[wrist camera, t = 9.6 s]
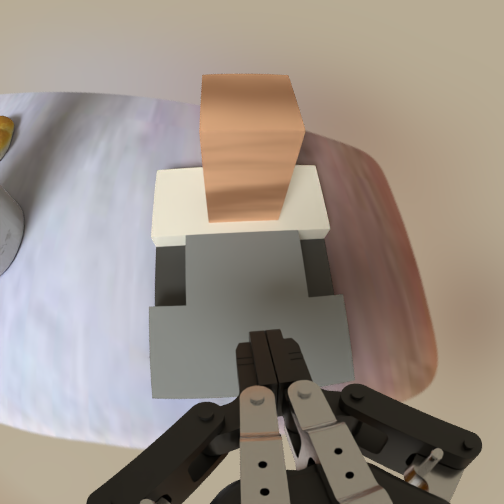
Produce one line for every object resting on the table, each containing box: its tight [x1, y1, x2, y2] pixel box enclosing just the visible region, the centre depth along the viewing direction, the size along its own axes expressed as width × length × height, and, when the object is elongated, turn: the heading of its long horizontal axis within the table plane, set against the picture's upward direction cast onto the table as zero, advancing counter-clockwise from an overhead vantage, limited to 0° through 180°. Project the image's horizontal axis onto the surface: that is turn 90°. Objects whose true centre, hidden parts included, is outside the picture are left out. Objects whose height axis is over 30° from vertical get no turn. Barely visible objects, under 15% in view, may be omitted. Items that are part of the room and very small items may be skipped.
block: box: [200, 74, 305, 223], centre depth 18 cm, size 5×5×9 cm
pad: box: [151, 165, 330, 247], centre depth 23 cm, size 6×13×2 cm, turn 95°
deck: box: [149, 230, 355, 399], centre depth 20 cm, size 11×13×2 cm
